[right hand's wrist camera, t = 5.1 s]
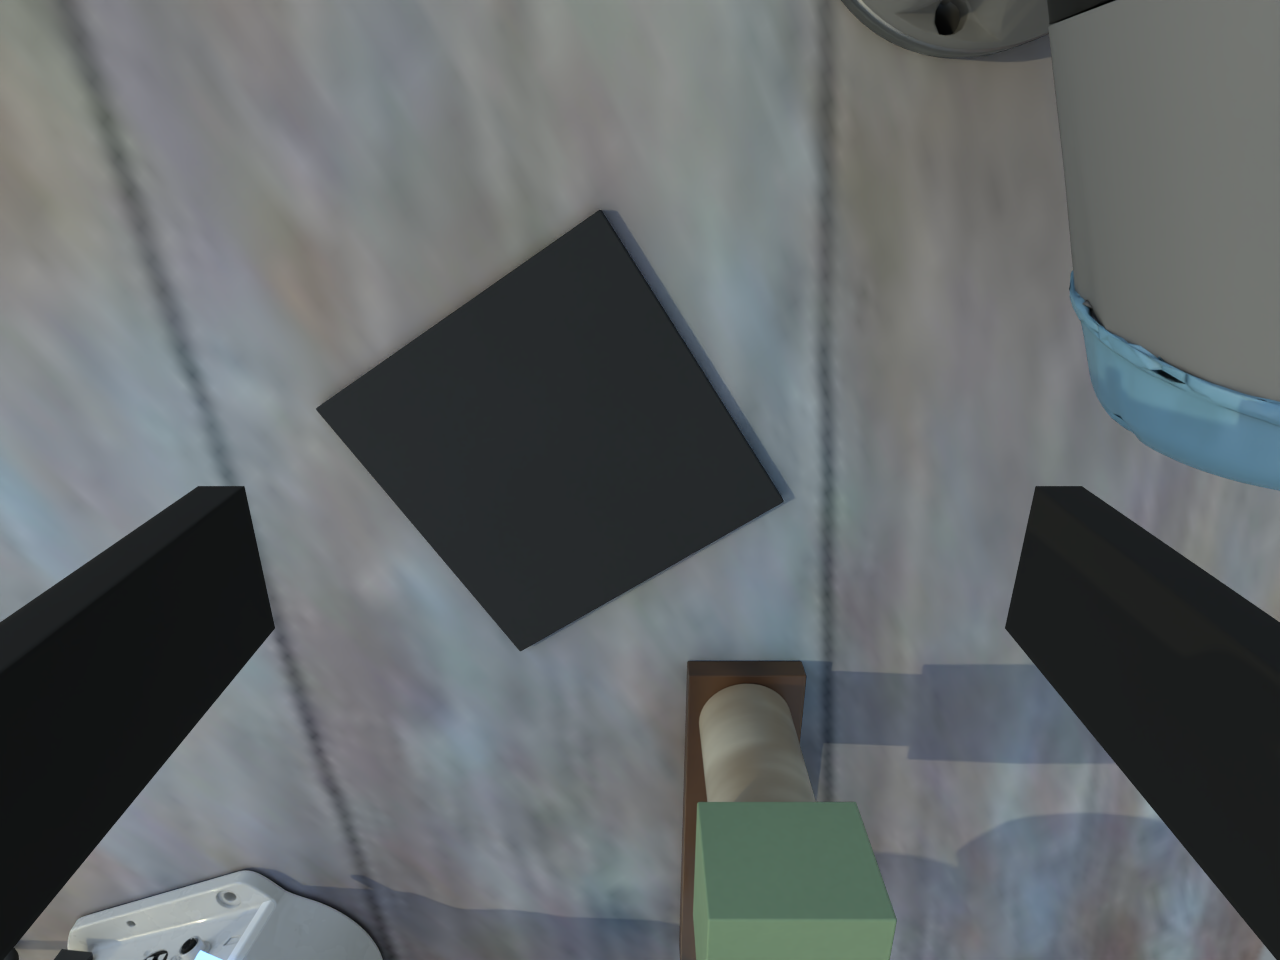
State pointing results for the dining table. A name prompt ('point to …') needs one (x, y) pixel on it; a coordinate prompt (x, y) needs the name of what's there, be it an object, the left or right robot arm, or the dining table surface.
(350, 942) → the left robot arm
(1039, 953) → the dining table surface
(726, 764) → the caddy
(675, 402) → the slate mat
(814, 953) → the sage green cube
